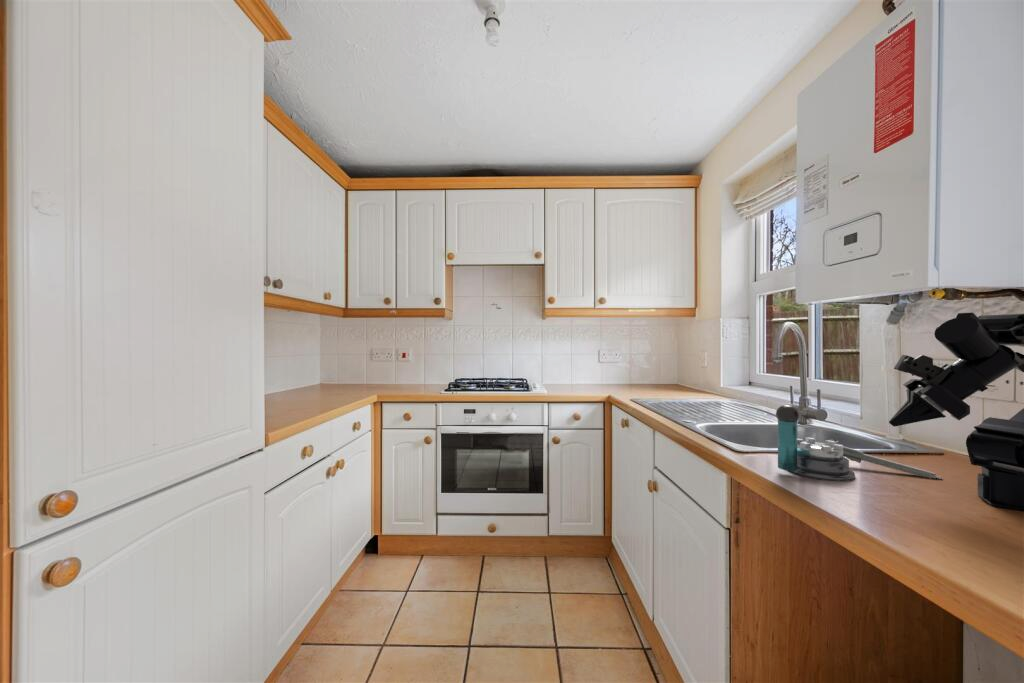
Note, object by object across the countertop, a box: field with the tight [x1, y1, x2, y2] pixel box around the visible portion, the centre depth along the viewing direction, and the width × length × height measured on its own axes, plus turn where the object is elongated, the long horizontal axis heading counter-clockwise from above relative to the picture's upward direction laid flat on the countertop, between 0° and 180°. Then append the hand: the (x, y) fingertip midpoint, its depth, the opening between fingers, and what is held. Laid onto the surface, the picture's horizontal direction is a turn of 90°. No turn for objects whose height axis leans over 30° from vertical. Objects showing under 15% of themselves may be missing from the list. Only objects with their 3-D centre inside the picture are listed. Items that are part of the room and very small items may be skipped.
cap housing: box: [789, 455, 856, 482], centre depth 93 cm, size 13×13×4 cm
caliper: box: [830, 438, 944, 480], centre depth 94 cm, size 20×1×6 cm, turn 54°
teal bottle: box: [775, 404, 844, 472], centre depth 92 cm, size 9×16×14 cm, turn 106°
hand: (891, 424), depth 81 cm, fingers closed
